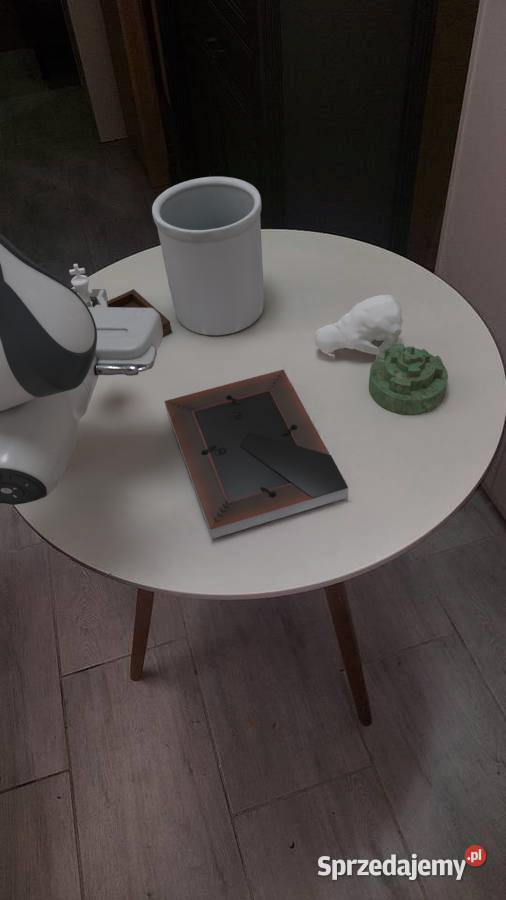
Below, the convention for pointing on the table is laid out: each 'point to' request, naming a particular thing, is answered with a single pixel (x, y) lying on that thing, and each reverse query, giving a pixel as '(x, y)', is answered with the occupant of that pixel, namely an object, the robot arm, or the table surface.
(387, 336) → the white animal figurine
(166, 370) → the table surface
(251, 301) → the utensil holder
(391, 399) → the decorative artifact
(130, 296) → the dark tray
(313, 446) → the picture frame
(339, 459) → the table surface
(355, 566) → the table surface
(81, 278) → the chess piece
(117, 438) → the table surface
